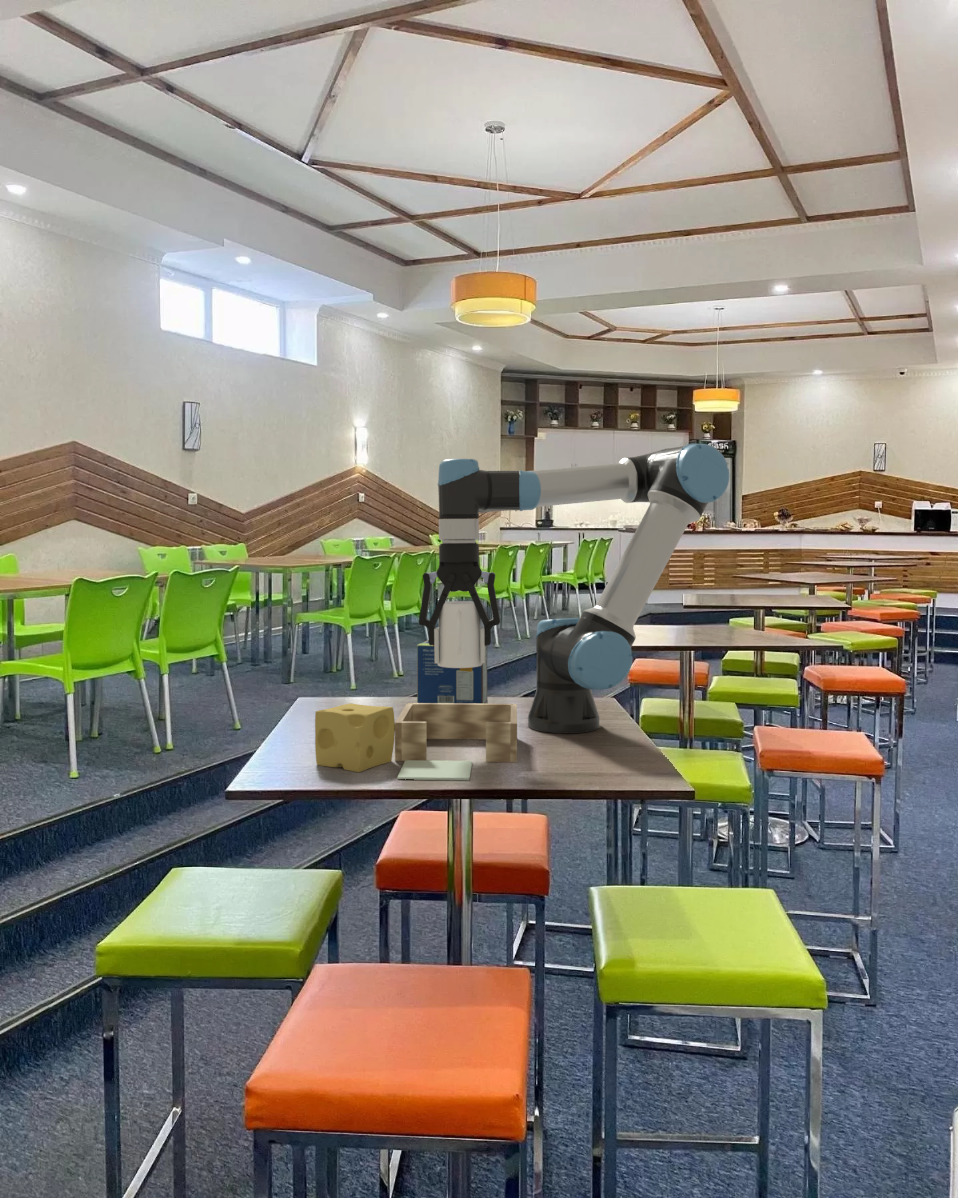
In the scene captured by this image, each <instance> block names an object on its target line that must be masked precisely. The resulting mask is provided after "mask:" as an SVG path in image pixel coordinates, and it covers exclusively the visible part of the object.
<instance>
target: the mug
mask: <svg viewBox="0 0 958 1198" xmlns="http://www.w3.org/2000/svg"><path fill="white" fill-rule="evenodd" d="M481 624H482V620H481V618H480V616H479V613H478V611H477V609H476V607H475V604H474V602H473V600H472V601H471V600H466V601H465V600H454V601H453V600H451V601H446V602H445V604H444V605H443V608H442V610H441V613H440V615H439V618H438V628H439V663H438V666H440V667H446V668H472V667H478V666H481V665H482V663H481V655H480V628H482V625H481Z"/></svg>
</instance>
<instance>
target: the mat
mask: <svg viewBox="0 0 958 1198" xmlns="http://www.w3.org/2000/svg"><path fill="white" fill-rule="evenodd" d="M403 762H404V763H403V765H402V767H401V769H400V771H399V772H398V775H397V777H396V779H405V780H406V779H414V780H415V781H417V780H418V781H470V777H471V773H472V772H471V771H472V767H473V760H428V759H427V760H405V761H403ZM406 781H407V780H406Z"/></svg>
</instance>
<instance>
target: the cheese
mask: <svg viewBox="0 0 958 1198" xmlns="http://www.w3.org/2000/svg"><path fill="white" fill-rule="evenodd" d="M314 716H315V719H314V731H315V735H314V739H315V740H314V745H315V747H314V748H315V749H314V751H315V759H316V760H315V762H316V765H317V766H320V767H321V766H322V767H328V768H329V767H330V768H343V770H346V771H350V772H355V773H361V772H364V771H366V770H369V769H371V768H375V767H377V766H381V765H383V764H387V763H391V762H392V760H393V751H394V747H395V722H396V720H395V712H394V707H393V706H381V705H380V706H379V705H363V704H358V703H345V704H340V705H338V706H334V707H331V708H326V709H325V708H324V709H321V710H316V711H315V715H314Z"/></svg>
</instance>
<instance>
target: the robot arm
mask: <svg viewBox="0 0 958 1198" xmlns="http://www.w3.org/2000/svg"><path fill="white" fill-rule="evenodd" d="M437 480H438V483H437V486H438V490H437V491H438V539H439V540H440V541H442V543H440V544H439V545H438V558H439V559H438V562H439V563H438V568H437V570H436V571H432V572H424V573H423V575H422V580H423V585H424V586H423V593H422V598H421V599H422V600H421V604H420V611H419V615H418V616H419V618H418V624H419V625H420V626H423V627H426V628H427V630H428V640H429V645H434V653H435V663H439V627H436V625H437V623H438V621H439V615H440V613H441V610H442V608H443V605H444V604H445V602H447V599H448V596H449V594H450V592H451V593H453V592H459V591H460V592H464V593H467V592H468V594H469V596H470V597H471V599H472V601H473V602H474V604H475V607H476V609H477V611H478V613H479V616H480V618H481V623H482V625H483V627H481V628H480V655H481V663H485V645H487V646H490V645H491V642H492V638H491V637H492V635H491V634H492V628H493V627H495V626H498V625H500V623H501V617H500V612H499V607H498V599H497V595H496V589H495V580H496V573H495V572H493V571H491V572H487V571H483V570H482V569H481V567H480V545H479V544H478V543H477V540H479V539H480V531H479V530H480V519H479V518H480V515H479V514H481V513H482V514H485V513H489V512H490V513H491V512H506V511H519V512H523V511H533V510H534V509H536V508H538V507H540V508H541V507H549V506H562V505H571V504H582V503H591V502H594V503H595V502H601V501H604V502H605V501H612V500H621V501H622V502H623V503H625V504H632V503H649V506H648V507H647V509H646V511H645V512H644V514H643V516H642V519H641V520H640V522H639V524H638V526H637V528H636V529H635V532H634V534H633V535H632V537H631V539H630V541H629V543H628V545H627V546H626V548H625V550H624V551H623V554H622V556H621V557H620V559H619V561H618V563H617V565H616V567H615V569H614V570H613V572H612V573H611V576H610V578H609V580H608V582H607V584H606V586H605V588H604V589H603V591H602V592H601V594H600V596H599V598H598V600H597V602H596V604H595V606H593V607H591V608H586V609H584V610H583V612H582V613H581V615H580V617H572V618H571V617H570V618H568V617H567V618H552V619H542V620H540V621H539V622H538V623H537V626H536V635H535V640H536V642H535V643H536V644H535V645H536V688H535V689H536V691H535V694H534V697H533V701H532V703H531V707H530V709H529V712H528V716H527V719H528V720H527V721H528V722H527V726H528V727H529V728H530V729H532V730H535V731H540V732H546V733H555V734H581V733H588V732H594V731H596V730H598V729H599V728H600V719H601V718H600V714H599V710H598V708H597V705H596V701H595V698H594V695H593V692H592V691H593V690H596V691H604V690H609V689H611V688H614V687H616V686H618V685H619V684H621V683H622V681H624V680H625V679H626V677H627V676H628V674H629V672H630V670H631V668H632V664H633V655H632V651H633V650H632V647H633V644H634V642H635V641H636V638H637V637H636V634H635V633H636V632H635V630H634V628H635V627H634V626H635V624H636V622H637V621H638V618H639V617H640V615H641V613H642V611H643V609H644V607H645V605H646V604H647V602H648V600H649V598H650V596H651V594H652V592H653V590H654V588H655V587H656V585H657V583H658V581H659V579H660V578H661V576H662V574H663V571H664V570H665V568H666V566H667V565H668V562H669V560H670V558H671V557H672V555H673V553H674V552H675V549H676V547H677V546H678V543H679V542H680V539H682V537H683V534H684V533H685V531H686V529H687V527H688V525H689V524H692V523H694V522H698V521H699V520H700V519H701V517H702V515H703V513H704V511H705V510H706V508H707V506H708V505H709V503H713V502H715V501H716V500H718V499H720V498H721V497H722V496H723V495H724V494H725V492H726V491H727V489H728V485H729V482H730V469H729V467H728V462H727V459H726V457H724V455H723V454H722V452H721V451H719V449H717V448H715V446H712V445H710V444H707V443H696V442H695V443H689V444H686V445H683V446H677V447H671V448H669V447H668V448H664V449H660V450H657V451H653V452H649V453H645V454H642V455H638V456H631V457H623V458H621V459H620V460H619V461H618V462H617V463H606V464H605V463H604V464H594V465H584V466H571V467H561V468H560V467H559V468H558V467H557V468H549V469H536V470H527V471H526V470H522V469H520V470H486V469H485V470H483V469H480V465H479V462H478V460H476V459H474V458H448V459H444V460H441V461H440V462H439V465H438V479H437ZM437 578H438V579H439V581H440V582H441V584H442V585H443V588H442V591H441V594H440V596H439V598H438V601H437V603H436V605H435V608H434V609H433V613H432V615H431V617H430V618H429V619H428V613H429V606H430V599H431V594H432V588H433V587H432V584H435V581H436V579H437ZM480 578H483V582H484V583H485V584H487V586H486V587H487V591H488V597H489V603H490V605H489V606H490V610H491V615H492V619H490V618H489V616H488V613H487V611H486V610H485V607H484V605H483V603H482V600H481V598H480V596H479V593H478V591H477V589H476V587H475V585H476V584H477V582H478V581H479V580H480Z"/></svg>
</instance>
